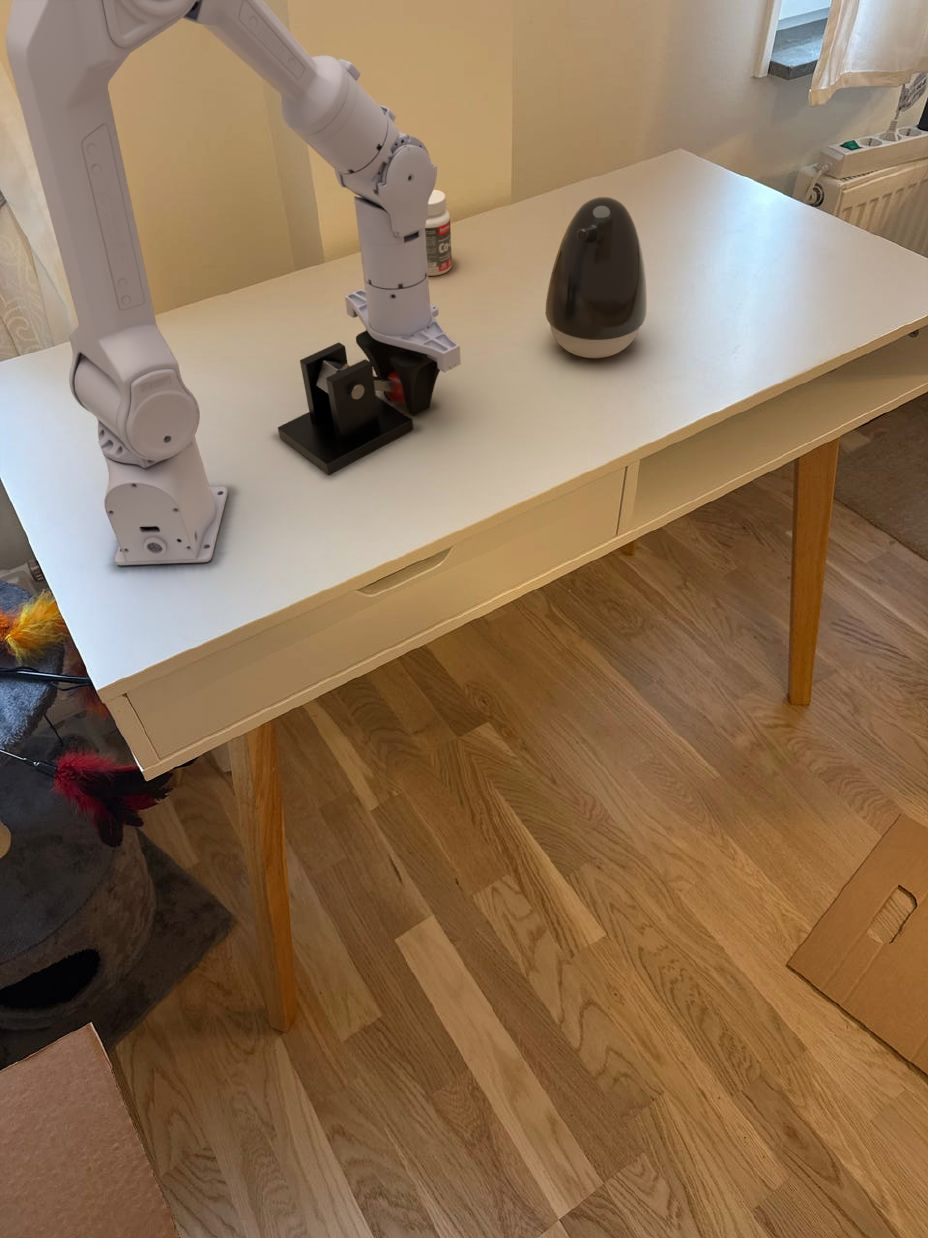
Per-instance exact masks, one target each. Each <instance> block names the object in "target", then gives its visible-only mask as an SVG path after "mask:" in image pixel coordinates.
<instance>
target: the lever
mask: <svg viewBox="0 0 928 1238" xmlns="http://www.w3.org/2000/svg"><path fill="white" fill-rule="evenodd" d="M350 366H351V365H350V364H346V363H339V362H331V361H323V363H322V367H321V370H320V373H319V377H318V380H317V384H316V385H317V386H318V387H319V388H321V389H322V390H324V391H325V392H327V393H328V387H327V381H326V378H327V377H329V376H331V375H333V374H335V373H337V372H339V371H341V370H344V369H346V368H348V367H350ZM373 377H374V385H375V391H379V392H383V391H386V393H387V395H388V397H389V398H390V399H391V400H390V401H392V402H394V403H396V404H406V402H405V396H404V391H403V387H402V384H401V381H400V378H399V376H398V374H397V372H396V371H394V372H392V373H391V374H390V375H389V376H388V377H387V378H383V377H377V376H375V375H373Z"/></svg>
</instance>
